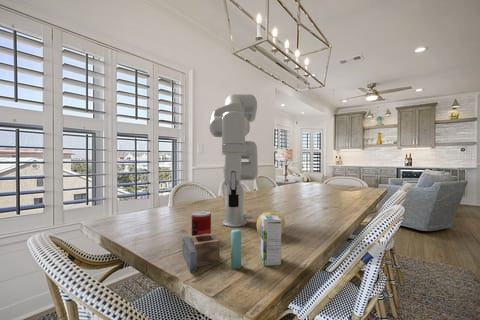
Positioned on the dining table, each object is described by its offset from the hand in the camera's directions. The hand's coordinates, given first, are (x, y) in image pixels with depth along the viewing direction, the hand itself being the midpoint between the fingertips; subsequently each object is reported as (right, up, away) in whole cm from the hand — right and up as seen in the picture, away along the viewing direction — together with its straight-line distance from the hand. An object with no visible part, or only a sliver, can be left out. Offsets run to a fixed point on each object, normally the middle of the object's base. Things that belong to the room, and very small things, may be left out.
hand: (233, 206), depth 75 cm
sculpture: (+15, -18, +24) cm, 33 cm away
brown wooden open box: (-10, -18, +2) cm, 20 cm away
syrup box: (+12, -18, 0) cm, 22 cm away
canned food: (-14, -18, +21) cm, 31 cm away
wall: (-14, -18, 0) cm, 23 cm away
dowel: (+1, -18, -3) cm, 18 cm away
